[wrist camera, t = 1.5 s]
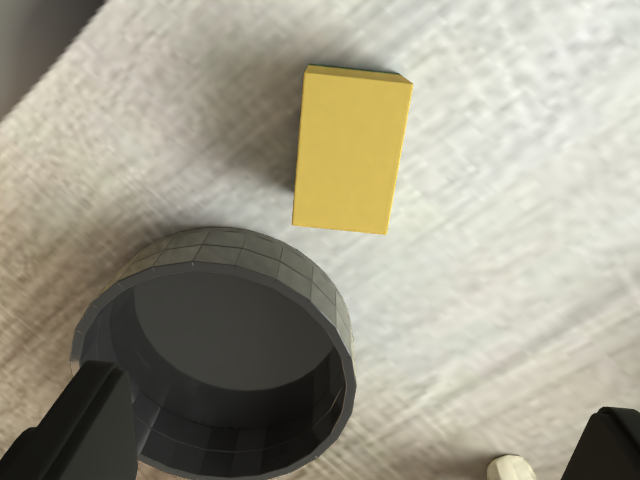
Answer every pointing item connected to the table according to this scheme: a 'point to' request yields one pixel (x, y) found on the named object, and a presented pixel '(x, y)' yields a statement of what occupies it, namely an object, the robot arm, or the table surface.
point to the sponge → (349, 147)
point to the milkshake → (510, 469)
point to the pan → (225, 354)
